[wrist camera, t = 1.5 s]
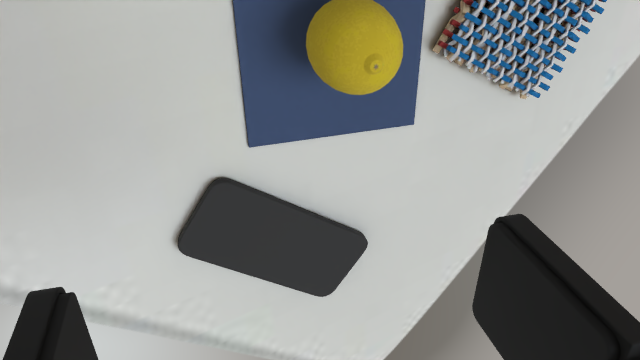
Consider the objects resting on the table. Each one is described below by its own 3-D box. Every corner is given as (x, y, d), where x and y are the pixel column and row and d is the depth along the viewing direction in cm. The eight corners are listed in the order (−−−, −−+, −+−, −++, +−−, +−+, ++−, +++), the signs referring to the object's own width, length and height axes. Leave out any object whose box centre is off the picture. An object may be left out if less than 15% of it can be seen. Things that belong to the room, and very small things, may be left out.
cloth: (216, -151, 26) (216, -151, 26) (438, -153, 29) (439, -154, 29) (248, 146, 36) (249, 147, 35) (412, 123, 38) (413, 124, 38)
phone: (217, 176, 35) (373, 240, 42) (216, 171, 36) (370, 234, 43) (172, 252, 38) (327, 300, 45) (172, 245, 38) (325, 293, 45)
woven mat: (509, -100, 31) (528, -99, 30) (606, -25, 36) (628, -20, 34) (424, 47, 35) (436, 56, 34) (522, 98, 40) (537, 108, 38)
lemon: (293, -15, 30) (328, 15, 24) (376, -17, 32) (431, 11, 25) (294, 71, 33) (325, 118, 27) (370, 66, 35) (417, 110, 28)
